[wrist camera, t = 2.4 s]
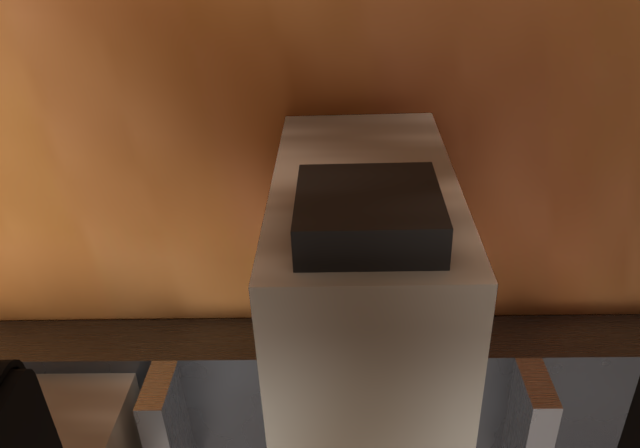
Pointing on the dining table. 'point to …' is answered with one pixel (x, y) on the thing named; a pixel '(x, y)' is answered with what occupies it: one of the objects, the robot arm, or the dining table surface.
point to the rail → (244, 389)
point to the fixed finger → (93, 408)
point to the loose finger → (369, 289)
